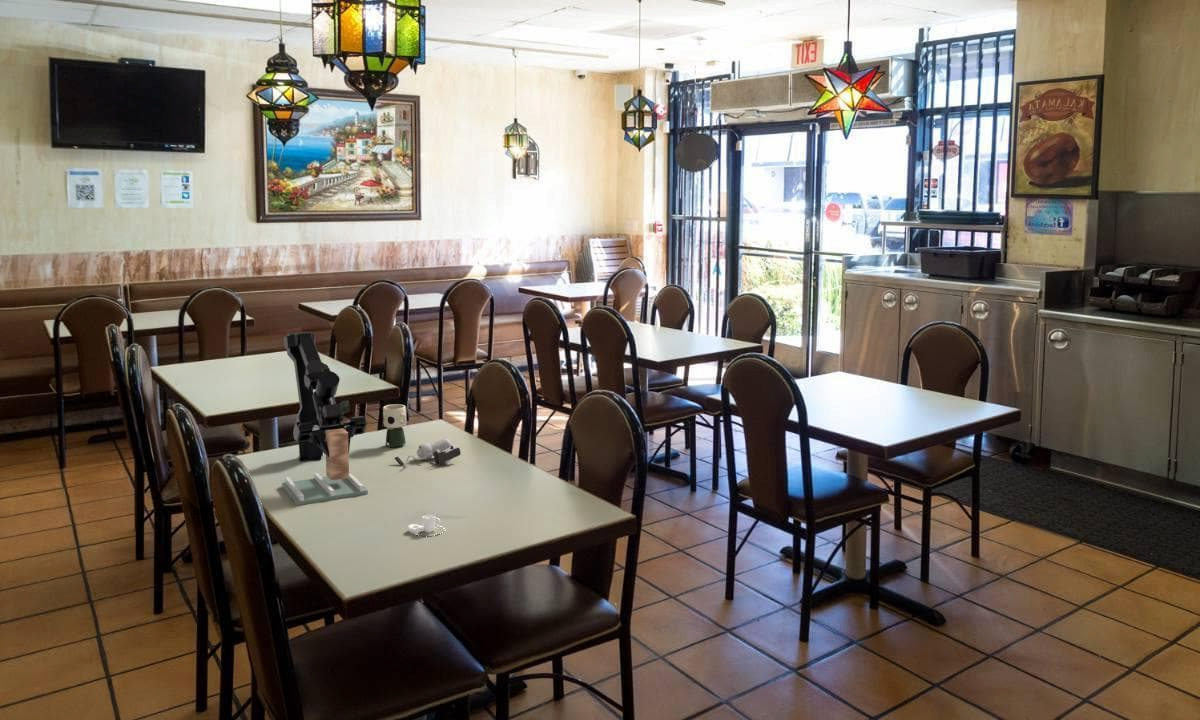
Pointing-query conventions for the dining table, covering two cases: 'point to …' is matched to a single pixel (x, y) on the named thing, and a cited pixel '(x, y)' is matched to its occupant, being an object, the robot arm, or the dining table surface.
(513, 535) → the dining table surface
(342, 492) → the slot board
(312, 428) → the robot arm
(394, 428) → the character mug
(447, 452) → the clip-on lamp
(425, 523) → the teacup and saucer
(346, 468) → the plug block
